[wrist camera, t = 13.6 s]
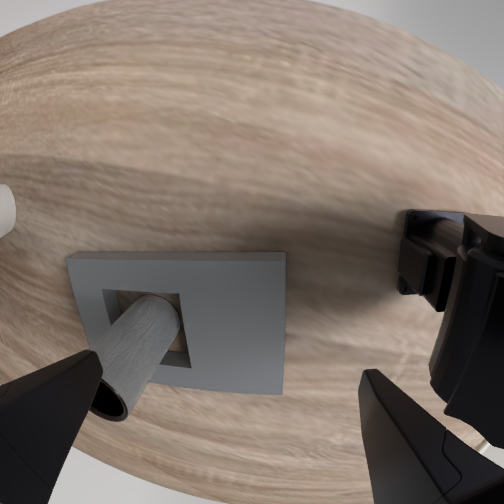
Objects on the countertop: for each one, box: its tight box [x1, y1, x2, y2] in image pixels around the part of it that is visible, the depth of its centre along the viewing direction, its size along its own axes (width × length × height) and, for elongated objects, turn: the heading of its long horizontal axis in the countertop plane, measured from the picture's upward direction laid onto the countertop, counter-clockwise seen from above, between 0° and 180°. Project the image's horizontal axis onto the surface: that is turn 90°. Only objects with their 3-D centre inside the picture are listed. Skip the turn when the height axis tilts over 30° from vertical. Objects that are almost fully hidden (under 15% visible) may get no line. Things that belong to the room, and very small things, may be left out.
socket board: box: [66, 252, 286, 395], centre depth 22 cm, size 18×12×2 cm, turn 92°
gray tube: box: [89, 295, 180, 422], centre depth 18 cm, size 4×4×10 cm
